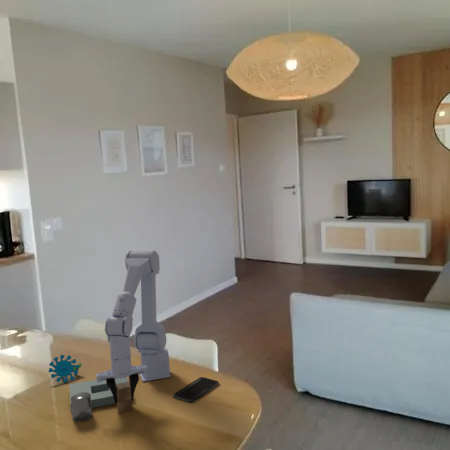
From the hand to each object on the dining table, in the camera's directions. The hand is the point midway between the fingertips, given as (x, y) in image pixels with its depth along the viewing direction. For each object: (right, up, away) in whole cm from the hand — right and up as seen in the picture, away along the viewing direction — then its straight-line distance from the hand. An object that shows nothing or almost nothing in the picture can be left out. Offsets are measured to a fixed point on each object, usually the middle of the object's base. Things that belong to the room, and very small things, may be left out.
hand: (123, 400), depth 138 cm
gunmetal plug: (-11, -3, -4) cm, 12 cm away
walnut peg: (0, -2, 0) cm, 2 cm away
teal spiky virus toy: (-25, -1, +23) cm, 34 cm away
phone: (+21, -1, +10) cm, 23 cm away
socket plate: (-9, -2, +9) cm, 13 cm away
